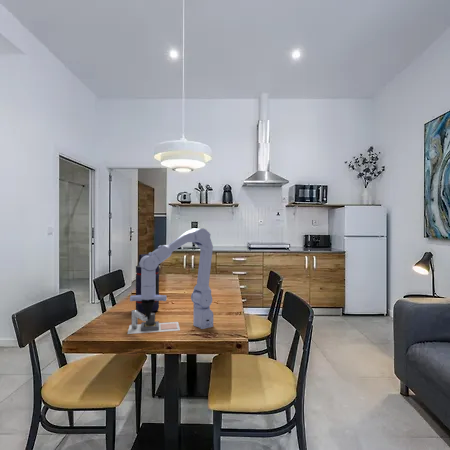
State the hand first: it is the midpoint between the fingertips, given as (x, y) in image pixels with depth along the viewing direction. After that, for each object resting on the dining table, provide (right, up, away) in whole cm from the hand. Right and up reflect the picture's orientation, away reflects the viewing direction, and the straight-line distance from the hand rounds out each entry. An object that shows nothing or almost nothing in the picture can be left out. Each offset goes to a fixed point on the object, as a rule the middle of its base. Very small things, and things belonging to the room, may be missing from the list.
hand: (148, 318), depth 130 cm
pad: (+7, -6, +10) cm, 13 cm away
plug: (-1, -6, +8) cm, 10 cm away
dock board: (+1, -7, +8) cm, 11 cm away
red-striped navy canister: (-10, -8, +38) cm, 40 cm away
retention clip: (-4, -6, +2) cm, 8 cm away
